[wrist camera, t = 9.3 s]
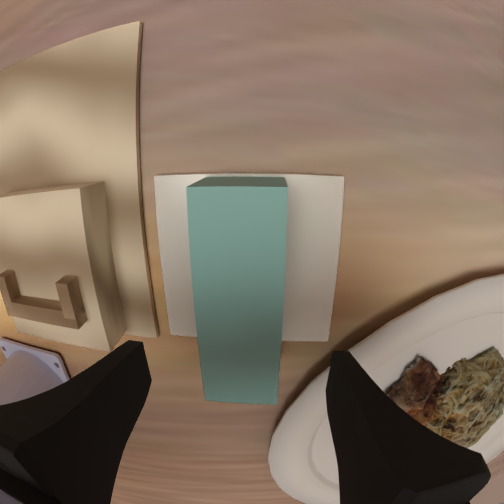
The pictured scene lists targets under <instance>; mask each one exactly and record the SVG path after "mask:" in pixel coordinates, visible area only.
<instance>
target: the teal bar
mask: <svg viewBox="0 0 504 504" xmlns="http://www.w3.org/2000/svg"><path fill="white" fill-rule="evenodd" d="M186 194H187V215H188V233H189V249H190V263H191V276H192V288H193V300H194V310H195V320H196V330H197V339H198V348H199V357H200V365H201V373H202V380H203V388H204V395H205V400H207V401H218V402H230V403H246V404H272V405H277V398H278V384H279V371H280V356H281V340H282V323H283V305H284V285H285V263H286V236H287V204H288V186H287V183H286V180H285V177H258V176H220V177H205V178H203V179H201V180H199V181H197V182H195V183H193V184H191V185H189V186H187V187H186Z"/></svg>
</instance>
